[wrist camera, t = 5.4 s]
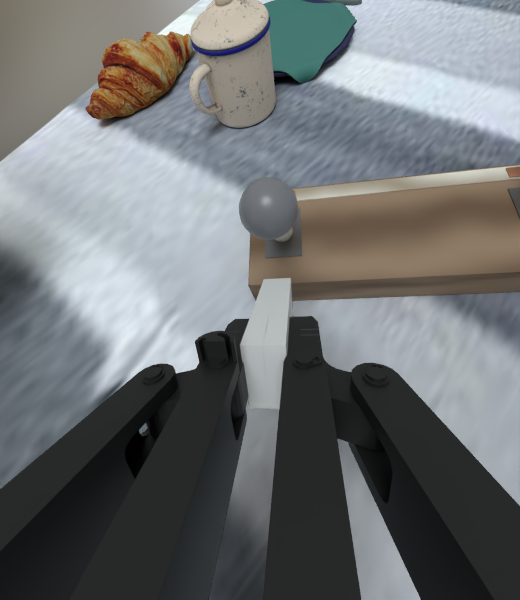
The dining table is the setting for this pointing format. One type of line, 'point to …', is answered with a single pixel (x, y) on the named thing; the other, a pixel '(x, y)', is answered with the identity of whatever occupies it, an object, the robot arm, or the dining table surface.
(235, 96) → the teacup with lid
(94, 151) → the dining table surface
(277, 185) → the lever
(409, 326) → the dining table surface
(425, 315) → the dining table surface
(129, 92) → the croissant
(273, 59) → the cutlery set
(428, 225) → the switch box
